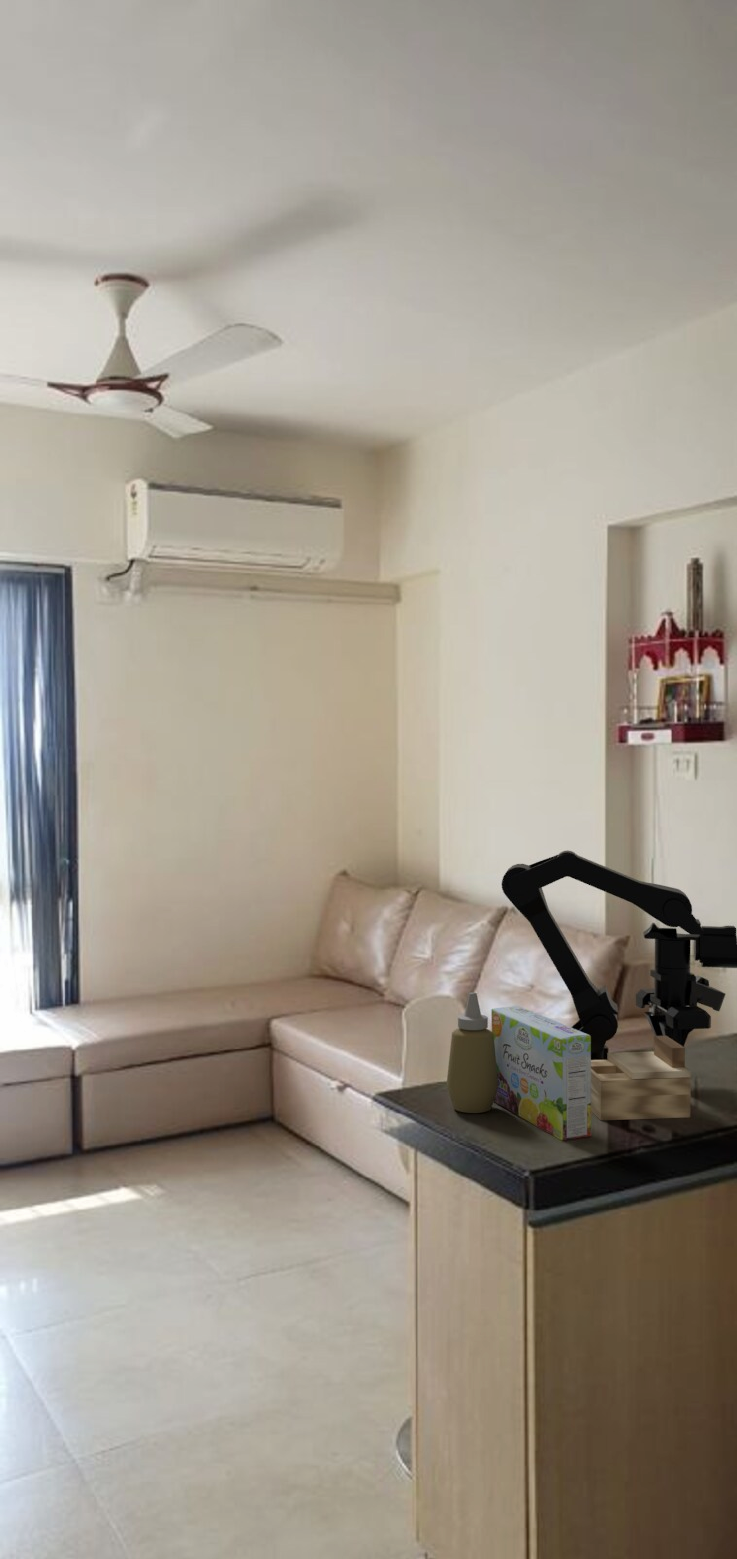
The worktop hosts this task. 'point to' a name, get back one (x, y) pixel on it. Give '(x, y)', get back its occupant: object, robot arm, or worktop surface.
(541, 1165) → the worktop surface
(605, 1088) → the wooden box
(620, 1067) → the lid
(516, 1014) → the snack box
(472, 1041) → the squeeze bottle
